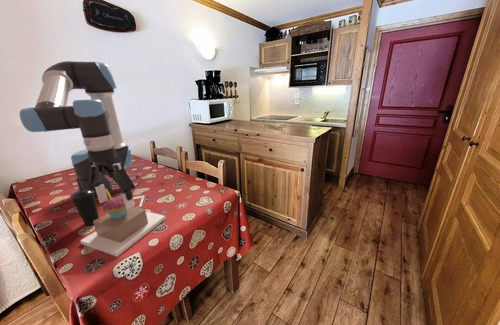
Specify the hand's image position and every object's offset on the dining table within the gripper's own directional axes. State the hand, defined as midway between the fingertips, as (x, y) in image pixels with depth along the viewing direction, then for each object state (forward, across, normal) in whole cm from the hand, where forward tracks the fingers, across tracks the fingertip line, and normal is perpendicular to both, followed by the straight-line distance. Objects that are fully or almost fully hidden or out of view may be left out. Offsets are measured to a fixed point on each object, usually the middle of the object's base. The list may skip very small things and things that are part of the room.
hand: (116, 204), depth 74 cm
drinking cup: (+12, -19, 0) cm, 23 cm away
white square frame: (+13, -17, +16) cm, 27 cm away
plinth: (+12, 0, +1) cm, 12 cm away
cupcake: (+5, 0, 0) cm, 5 cm away
